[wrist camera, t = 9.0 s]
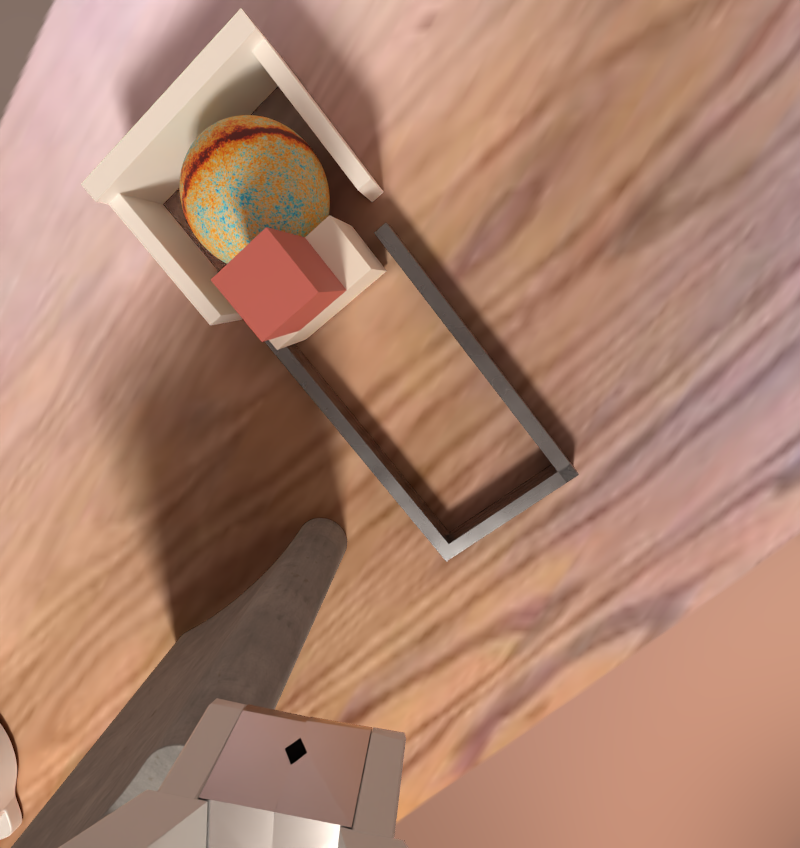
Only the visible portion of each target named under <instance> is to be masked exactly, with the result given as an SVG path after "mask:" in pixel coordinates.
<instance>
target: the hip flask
mask: <svg viewBox="0 0 800 848" xmlns="http://www.w3.org/2000/svg"><path fill="white" fill-rule="evenodd" d="M346 548H347V538H346V535H345V533H344V531H343V529H342V528H341V527H340V526H339V525H338V524H337V523H335V522H334V521H332V520H329V519H326V518H315V519H312V520H310V521H308V522H306V523H305V524H304V525H303V526H302V528H301V529H300V531H299V532H298V533H297V535H296V536H295V538H294V539H293V541H292V542H291V543H290V545H289V546H288V547H287V549H286V550H285V551H284V552H283V553H282V555H281V556H280V557H279V558H278V559H277V560H276V561H275V563H274V564H273V565H272V566H271V567H270V568H269V569H268V570H267V571H266V572H265V573H264V574H263V575H262V576H261V577H260V578H259V579H258V580H257V581H256V582H255V583H254V584H253V585H252V586H250V587H249V588H248V589H247V590H246V591H245V592H244V593H243V594H241V595H240V596H239V597H238V598H237V599H236V600H234V601H233V602H232V603H231V604H229V605H228V606H227V607H226V608H224V609H223V610H221V611H220V612H219V613H217V614H216V615H214V616H213V617H211V618H210V619H208V620H207V621H205V622H204V623H202V624H200V625H198V626H197V627H195V628H193V629H191V630H189V631H187V632H186V633H184V634H183V635H182V636H181V637H180V638H179V639H178V641H177V642H176V643H175V644H174V646H173V647H172V648H171V649H170V651H169V652H168V653H167V654H166V656H165V657H164V658H163V659H162V661H161V662H160V663H159V664H158V665H157V667H156V668H155V669H154V670H153V672H152V673H151V674H150V675H149V677H148V678H147V679H146V680H145V682H144V683H143V684H142V685H141V687H140V688H139V689H138V690H137V692H136V693H135V694H134V695H133V697H132V698H131V699H130V700H129V702H128V703H127V704H126V705H125V707H124V708H123V709H122V710H121V712H120V713H119V714H118V715H117V717H116V718H115V719H114V720H113V721H112V723H111V724H110V725H109V726H108V728H107V729H106V730H105V731H104V733H103V734H102V735H101V736H100V738H99V739H98V740H97V741H96V743H95V744H94V745H93V746H92V748H91V749H90V750H89V751H88V753H87V754H86V755H85V756H84V758H83V759H82V760H81V761H80V763H79V764H78V765H77V766H76V768H75V769H74V770H73V771H72V773H71V774H70V775H69V776H68V777H67V779H66V780H65V781H64V782H63V784H62V785H61V786H60V787H59V789H58V790H57V791H56V792H55V794H54V795H53V796H52V797H51V799H50V800H49V801H48V802H47V804H46V805H45V806H44V807H43V809H42V810H41V811H40V812H39V814H38V815H37V816H36V817H35V819H34V820H33V821H32V822H31V824H30V825H29V826H28V827H27V828H26V830H25V831H24V832H23V833H22V835H21V836H20V837H19V838H18V840H17V841H16V842H15V843H14V845H13V846H12V847H11V848H58V847H60V846H61V845H63V844H65V843H66V842H68V841H69V840H71V839H72V838H74V837H75V836H77V835H78V834H80V833H81V832H83V831H84V830H86V829H88V828H89V827H91V826H92V825H94V824H95V823H97V822H98V821H100V820H101V819H103V818H104V817H106V816H107V815H109V814H111V813H112V812H114V811H115V810H117V809H118V808H120V807H121V806H123V805H124V804H126V803H127V802H129V801H130V800H132V799H134V798H135V797H137V796H138V795H140V794H141V793H143V792H144V791H146V790H153V791H158V790H159V788H160V786H161V785H162V783H163V781H164V780H165V778H166V776H167V774H168V773H169V771H170V769H171V768H172V766H173V764H174V763H175V761H176V759H177V758H178V756H179V754H180V753H181V751H182V749H183V748H184V746H185V744H186V743H187V741H188V739H189V738H190V736H191V734H192V733H193V731H194V729H195V727H196V726H197V724H198V722H199V721H200V719H201V717H202V716H203V714H204V712H205V711H206V709H207V707H208V706H209V705H210V704H211V703H212V702H213V701H214V700H215V699H216V698H218V699H223V700H227V701H232V702H237V703H241V704H246V705H248V704H250V705H254V706H259V707H264V708H269V709H273V710H274V709H275V707H276V705H277V703H278V700H279V698H280V696H281V694H282V692H283V689H284V687H285V685H286V683H287V680H288V678H289V676H290V674H291V671H292V669H293V667H294V665H295V663H296V660H297V658H298V656H299V654H300V651H301V649H302V647H303V645H304V642H305V640H306V638H307V636H308V634H309V631H310V629H311V627H312V625H313V622H314V620H315V618H316V616H317V613H318V611H319V609H320V607H321V605H322V602H323V600H324V598H325V596H326V593H327V591H328V589H329V587H330V584H331V582H332V580H333V578H334V576H335V573H336V571H337V569H338V567H339V564H340V562H341V560H342V558H343V555H344V553H345V551H346Z"/></svg>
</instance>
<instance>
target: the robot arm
mask: <svg viewBox="0 0 800 848" xmlns="http://www.w3.org/2000/svg"><path fill="white" fill-rule="evenodd" d="M405 741H406V737H405V733H403V732H397V731H391V730H385V729H379V728H373V730H372V727H367V726H361V725H355V724H349V723H344V722H338V721H332V720H326V719H320V718H315V717H306V716H302V715H297V714H292V713H287V712H283V711H278V710H273V709H269V708H264V707H259V706H254V705H250V704H248V705H246V704H241V703H237V702H232V701H227V700H223V699H218V698H216V699H215V700H214V701H213V702H212V703H211V704H210V705H209V706H208V707H207V709H206V711H205V712H204V714H203V716H202V717H201V719H200V721H199V722H198V724H197V726H196V727H195V729H194V731H193V733H192V734H191V736H190V738H189V739H188V741H187V743H186V744H185V746H184V748H183V749H182V751H181V753H180V754H179V756H178V758H177V759H176V761H175V763H174V764H173V766H172V768H171V769H170V771H169V773H168V774H167V776H166V778H165V780H164V781H163V783H162V785H161V786H160V788H159V790H158V791H153V790H146V791H144V792H143V793H141V794H140V795H138V796H137V797H135V798H134V799H132V800H130V801H129V802H127V803H126V804H124V805H123V806H121V807H120V808H118V809H117V810H115V811H114V812H112V813H111V814H109V815H107V816H106V817H104V818H103V819H101V820H100V821H98V822H97V823H95V824H94V825H92V826H91V827H89V828H88V829H86V830H84V831H83V832H81V833H80V834H78V835H77V836H75V837H74V838H72V839H71V840H69V841H68V842H66V843H65V844H63V845H61V846H60V847H58V848H408V846H407V844H406V842H405V841H404V840H401V839H396V838H394V835H395V826H396V818H397V809H398V801H399V792H400V784H401V775H402V767H403V758H404V750H405ZM16 778H17V763H16V757H15V753H14V750H13V747H12V744H11V742H10V739H9V737H8V735H7V733H6V732H5V730H4V728H3V727H2V725H1V724H0V840H1V839H4V838H6V837H8V836H10V835H11V834H12V833H13V832H14V831H15V830H16V829H17V828H18V827H19V826H20V825H21V823H22V815H21V811H20V808H19V805H18V802H17V799H16V796H15V786H16Z"/></svg>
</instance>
